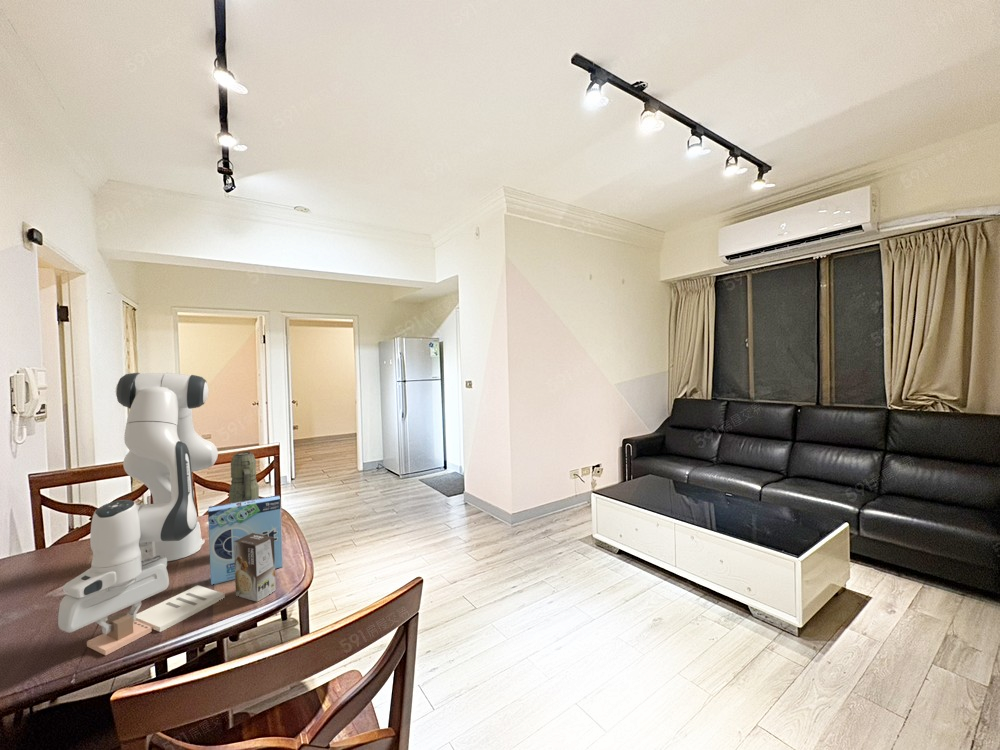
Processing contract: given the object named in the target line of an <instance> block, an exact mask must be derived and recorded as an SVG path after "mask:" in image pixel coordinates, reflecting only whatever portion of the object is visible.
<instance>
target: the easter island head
mask: <svg viewBox="0 0 1000 750" xmlns="http://www.w3.org/2000/svg"><path fill="white" fill-rule="evenodd" d="M230 478H231V481H230V486H229V490H228V491H229V493H228V494H229V503H235V502H241V501H247V500H253V499H259V498H260V496H259V495H260V492H259V483H258V480H257V459H256V458H255V455H254V453H253V452H250V451H246V452H245V451H244V452H238V453H237V452H236V453H235V454H234V455H233V456H232V458H231V461H230Z"/></svg>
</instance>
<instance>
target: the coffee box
mask: <svg viewBox="0 0 1000 750" xmlns="http://www.w3.org/2000/svg"><path fill="white" fill-rule="evenodd" d="M234 556H235V579H234V580H235V581H234V582H235V583H234V584H235V585H234V586H235V596H236V597H238V596H239V598H243V599H245V600H249V601H253V602H260V601H262V600H263V599H265V598H266V597H268V596H270V595H271V594H273V593H274V592H273V591H275V590H276V591H277V589H276V569H275V553H274V537H270V536H265V535H260V534H255V533H252V534H249V535H247V536H244V537H242V538H240V539H238V540H236V541H234ZM276 591H275V592H276ZM272 592H273V593H272ZM269 594H270V595H269Z"/></svg>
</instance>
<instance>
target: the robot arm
mask: <svg viewBox="0 0 1000 750" xmlns="http://www.w3.org/2000/svg"><path fill="white" fill-rule="evenodd" d="M209 392H210V390H209V385H208V383H207V380H206V379H205V378H204V377H203V376H199V375H194V374H191V375H189V374H181V373H172V372H171V373H170V372H164V373H163V372H162V373H161V372H152V373H151V372H148V373H140V372H133V373H131V372H129V373H125V374H124V375H123V376H121V377H120V379H118V382H117V384H116V387H115V396H116V400H117V403H119V404H120V405H121V406H122V407H125V408H128V409H129V411H128V415H127V419H126V423H125V424H126V425H125V429H124V436H123V437H124V439H123V440H124V444H125V446H126V448H127V449H128V450H129V451H128V452H127V454H126V455H125V456H124V459H123V464H122V466H123V469H124V471H125V473H126V474H127V475H128V476H129V477H131V478H132V479H134V480H135V479H136V480H137V481H139V482H141V483H142V484H144V486H146V488H148V490H149V492H150V493H151V496H152V501H153V503H143V504H142V503H141V504H140V503H139V504H137V503H136V502H135V501H134V500H131V499H120V500H115V501H112V502H111V501H110V502H108V503H106V504H104V505H101V506H99V507H98V508H97V509H96V510H95V511H94V512H93V515H92V519H91V524H90V538H89V539H90V540H89V542H90V549H91V550H92V554H93V555H92V556H93V557H92V560H91V567H90V568H89V569H87V570H85V571H83V572H82V573H81V574H79V575H77V576H75V577H74V578H72V579H71V580H69V581H68V582H66V583H65V584H63V586H62V590H63V593H64V594H66V595H65V596H64V597H63V598H62V599H61V601H60V603H59V607H58V617H57V621H58V623H57V624H58V628H59V630H60V631H63V632H66V633H69V634H70V633H73V632H76V631H78V630H81V629H82V628H85V627H86V626H89V625H92V624H93V623H97V624H98V625H99V626H100V627H101V632H102V634H105V635H106V634H108V633H110V632H112V631H114V628H113V627H114V624H111V623H110V622H109V623H106V621H107V620H108V618H109V617H110V615H111V616H112V615H113V614H115V613H117V612H118V613H119V611H120V612H121V610H123V609H124V610H125V609H126V608H128V607H131V608H130V610H129V612H128V613H126V614H127V615H130V616H132V617H133V621H135V620H136V614H138V613H139V612H138V611H139V610H140V608H141V606H142V601H144V600H145V599H148V598H150V597H152V596H155V595H157V594H159V593H161V592H164V591H166V590H167V589H168V587H169V586H170V579H169V573H168V569H167V566H168V562H172V561H177V560H181V559H183V558H186V557H189V556H192V555H194V554H196V553H197V552H198V551H199V550H201V548H202V546H203V545H204V544H205V541H206V539H203V538H202V532H201V526H200V522H199V521H198V513H197V507H196V501H195V491H194V485H193V472H199V471H202V470H205V469H208V468H211V467H213V466H214V465H215V463H216V462H217V460H218V456H219V452H218V447H217V446H216V444H215V443H213V442H212V441H210V440H208V439H206V438H203V437H202V436H200V434H198V432H197V431H196V430H195V427H194V426H195V425H194V420H193V418H194V416H193V409H197V408H200V407H202V406H204V405H205V404H206V401H207V400H208V397H209Z"/></svg>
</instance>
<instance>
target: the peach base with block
mask: <svg viewBox="0 0 1000 750" xmlns="http://www.w3.org/2000/svg"><path fill="white" fill-rule="evenodd" d="M127 614H128V613H125V612H122V611H120V612H118V613H116V614H114V615H113V614H112V615H111V616H108V620H107V621H105V623H109V622H110V623H111V624H114V627H113V628H114V631H112V632H110V633H108V634H106V635H105V634H103V633H102V634H100V635H97V636H95V637H93V638H91V639H88V640H87V641H86V647H87V648H90V649H91V650H93V651H95V652H97V653H99V654H102V655H104V656H108V655H109V654H112V653H113V652H116V651H117V650H119V649H122V648H123V647H124V646H127V645H129V644H131V643H133V642H135V641H137V640H139V639H140V638H143V637H144V636H146V635H148V634H150V633H151V632H152V630H153V629H152V628H151V627H150V626H148V625H145V624H143V623H140V622H138V621H136V620H135V621H133V617H132V616H130V615H127Z"/></svg>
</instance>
